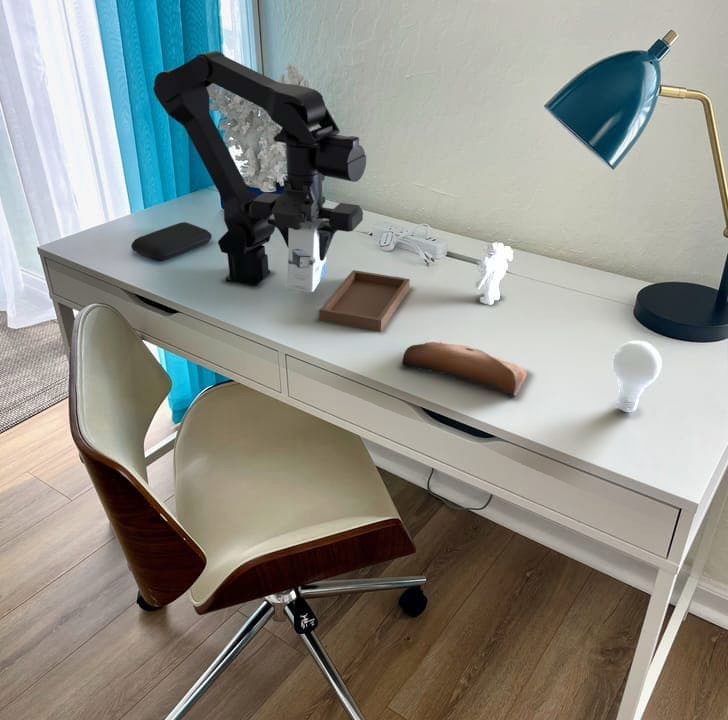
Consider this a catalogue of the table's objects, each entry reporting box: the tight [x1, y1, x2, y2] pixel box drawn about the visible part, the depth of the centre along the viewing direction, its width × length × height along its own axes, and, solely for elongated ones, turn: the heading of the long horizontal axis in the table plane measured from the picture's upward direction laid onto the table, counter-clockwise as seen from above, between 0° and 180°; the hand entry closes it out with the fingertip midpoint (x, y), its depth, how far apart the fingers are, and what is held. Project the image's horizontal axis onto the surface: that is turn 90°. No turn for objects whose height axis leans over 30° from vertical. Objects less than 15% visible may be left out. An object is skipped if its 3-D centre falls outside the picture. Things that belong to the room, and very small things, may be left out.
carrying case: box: [131, 221, 213, 262], centre depth 150 cm, size 11×3×15 cm
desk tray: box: [318, 269, 411, 332], centre depth 131 cm, size 11×17×2 cm
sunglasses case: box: [401, 341, 528, 397], centre depth 112 cm, size 18×7×7 cm
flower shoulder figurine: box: [474, 241, 514, 305], centre depth 130 cm, size 9×4×12 cm, turn 140°
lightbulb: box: [612, 340, 662, 413], centre depth 102 cm, size 6×6×11 cm
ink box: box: [287, 218, 327, 293], centre depth 129 cm, size 9×5×12 cm, turn 168°
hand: (307, 257), depth 130 cm, fingers closed on ink box, 5 cm apart
